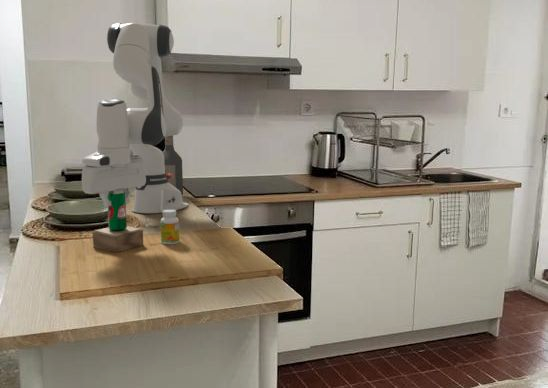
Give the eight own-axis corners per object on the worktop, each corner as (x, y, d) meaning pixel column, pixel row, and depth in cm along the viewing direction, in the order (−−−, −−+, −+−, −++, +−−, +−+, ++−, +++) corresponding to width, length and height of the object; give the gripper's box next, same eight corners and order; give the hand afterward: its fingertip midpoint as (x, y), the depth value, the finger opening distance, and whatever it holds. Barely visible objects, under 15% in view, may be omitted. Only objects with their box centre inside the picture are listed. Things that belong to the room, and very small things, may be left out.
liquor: (173, 198, 238) (171, 128, 233) (156, 197, 242) (153, 128, 237) (185, 195, 247) (183, 127, 241) (168, 194, 250) (166, 127, 245)
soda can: (121, 232, 158) (119, 190, 156) (105, 231, 160) (103, 190, 157) (130, 228, 163) (128, 187, 161) (114, 227, 164) (112, 187, 162)
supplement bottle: (157, 243, 165) (156, 211, 164) (167, 239, 170) (166, 208, 169) (173, 245, 164) (172, 213, 162) (182, 241, 169) (181, 209, 167)
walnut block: (121, 240, 169) (120, 224, 168) (143, 245, 164) (142, 228, 163) (93, 247, 161) (92, 230, 160) (116, 252, 156) (115, 235, 155)
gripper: (135, 153, 168) (137, 198, 170) (76, 159, 152) (79, 209, 154) (149, 155, 164) (151, 201, 167) (91, 161, 148) (94, 212, 150)
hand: (116, 205), depth 160 cm, fingers open, 5 cm apart
